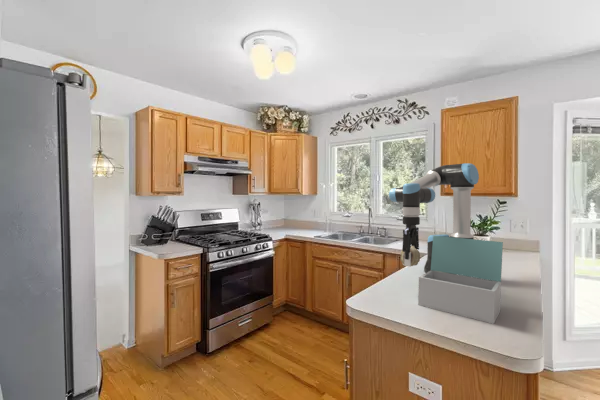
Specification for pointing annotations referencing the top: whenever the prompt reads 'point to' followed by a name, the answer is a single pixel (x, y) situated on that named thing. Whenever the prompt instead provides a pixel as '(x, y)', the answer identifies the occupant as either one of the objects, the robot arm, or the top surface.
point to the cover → (467, 257)
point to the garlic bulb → (412, 256)
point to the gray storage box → (460, 295)
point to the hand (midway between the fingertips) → (410, 264)
